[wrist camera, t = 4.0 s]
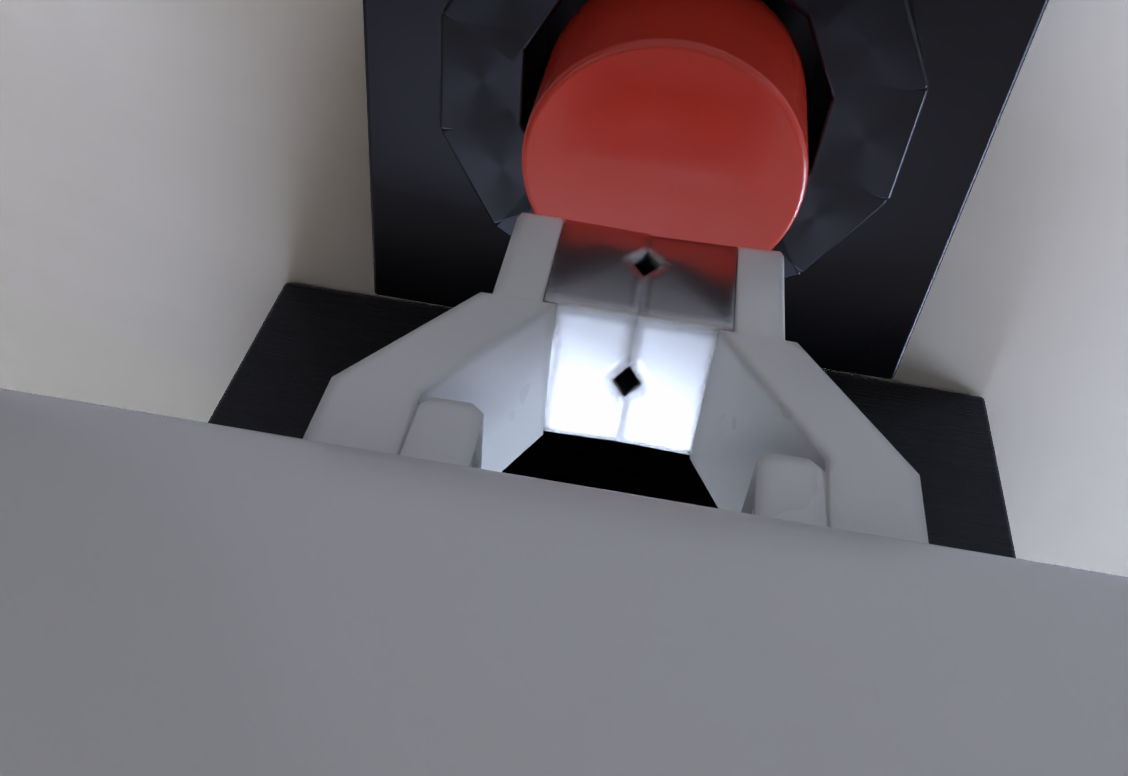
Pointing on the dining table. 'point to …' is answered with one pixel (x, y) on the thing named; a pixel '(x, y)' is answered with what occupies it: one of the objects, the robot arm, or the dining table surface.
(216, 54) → the dining table surface
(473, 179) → the control block
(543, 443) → the glossy black box
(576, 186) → the stop button
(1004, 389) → the dining table surface
